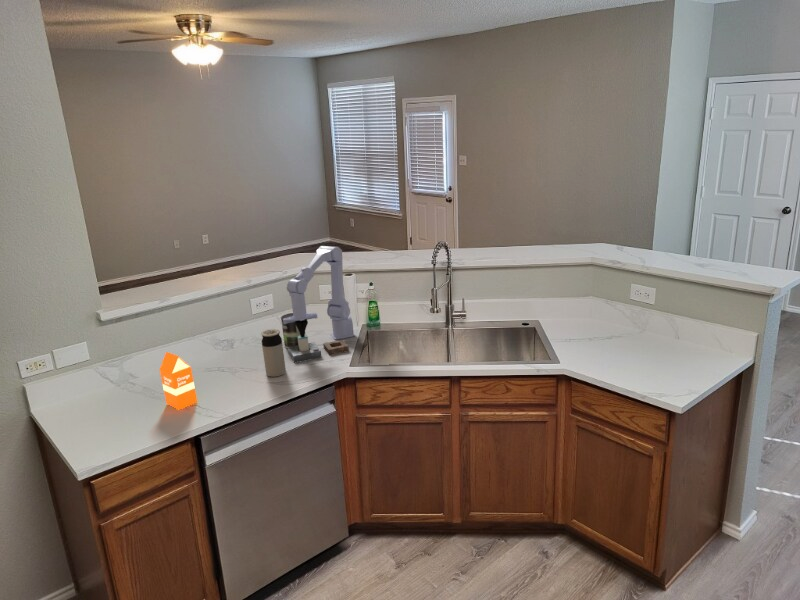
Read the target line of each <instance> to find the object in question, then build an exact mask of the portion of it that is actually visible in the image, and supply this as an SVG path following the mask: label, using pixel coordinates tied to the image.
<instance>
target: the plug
mask: <svg viewBox="0 0 800 600" xmlns="http://www.w3.org/2000/svg"><path fill="white" fill-rule="evenodd" d="M297 337H298V343H299V351H300V352H302V351H307V350H309V345H308V343H309V336H308V334H306V333H305V337H301V336H300V335H299V336H297Z"/></svg>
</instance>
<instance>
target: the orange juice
mask: <svg viewBox="0 0 800 600" xmlns="http://www.w3.org/2000/svg"><path fill="white" fill-rule="evenodd" d="M159 372H160V377H161V382H162V384H161V385H162V389H163V393H164V398H165V403H166V405H167V404H168V405H170V406H172V407H174V408H176V409H175V410H177V409H178V410H177V411H179V410H180V409H182V410H184V409H186V408H185V407H187V406H189V407H191V406H193V405H195V404H194V403H196V404H198V398H197V393H196V388H195V381H194V377H193V371H192V367H191V366H190V365H189V364H188V363H186V362H185V361H184V360H183V358H181V357H180V356H179V355H176V354H173V353H171V352H168V351H166V352H165V354H164V356H163V359H162V362H161V365H160V367H159ZM192 404H193V405H192ZM168 405H167V406H168ZM190 405H191V406H190ZM170 406H169V407H170ZM172 407H171V408H172ZM174 408H173V409H174ZM183 408H184V409H183ZM187 408H188V407H187ZM180 411H181V410H180Z"/></svg>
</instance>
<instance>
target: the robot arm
mask: <svg viewBox="0 0 800 600" xmlns="http://www.w3.org/2000/svg"><path fill="white" fill-rule="evenodd" d="M325 262H326V263H327V264H329V265H330V277H331V278H330V279H331V281H330V282H331V283H330V284H331V299H330V300H329V301H327V308H326V313H327V316H328V317H329V318H330V319H331V326H332V333H330V336H331V337H332V338H333V339H334V341H338V340H343V339H346V338H352V337H355V334H354V332H355V331H354V323H353V319H352V317H351V315H350V314H351V309H350V305H349V301H348V300H346V299H345V298H344V274H343V273H344V270H343V250H342V248H340V247H339V246H330V245H329V246H328V245H327V246H326V245H320V246H319V247H318V248H317V249H316V251H315V256H314V257H313V258H312V260H311V261H310V263H309V264H308V266H303V267H302V268H301V269H300V271H299V272H298V273H297V274H296V276H295V277H294V278H292V279H290V280H288V281H287V284H286V286H287V287H286V290H287V292H289V296H290V300H291V301H290V302H291V308H292V313H293V316H292V317H288V318H285V319H283V323H284V324H287V323H291V322H294V323H295V324H296V326H297V328H298V330H299V332H300V336H301V337H305V334H306V330H307V326H308V324H309V322H308V320H312V319H318V314H317V312H314V313H307V305H306V297H305V292H306V290H307V289H308V288H307V286H308V284H309V282H310V281H311V280H312V279H313V277H314V276H315V271H316V270H317V269H318V268H319V267H320V266H321V265H322V264H324V263H325Z"/></svg>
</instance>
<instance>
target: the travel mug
mask: <svg viewBox="0 0 800 600" xmlns="http://www.w3.org/2000/svg"><path fill="white" fill-rule="evenodd" d="M280 334H281V330H280V329H276V328H270V329H266V330H263V331H262V332H261V334H260V335H261V337H262V338H261V339H262V340H261V347H262V353H263V354H262V355H263V362H264V368H265V374H266V376H268V377H270V376H271V377H272V378H273V377H274V378H277V377H279V376H280V377H281V376H282V375H285V373H286V372H287V370H286V362H285V361H286V360H285V353H284V347H283V346H284V345H283V338H282V337H281V335H280ZM276 376H277V377H276Z"/></svg>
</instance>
